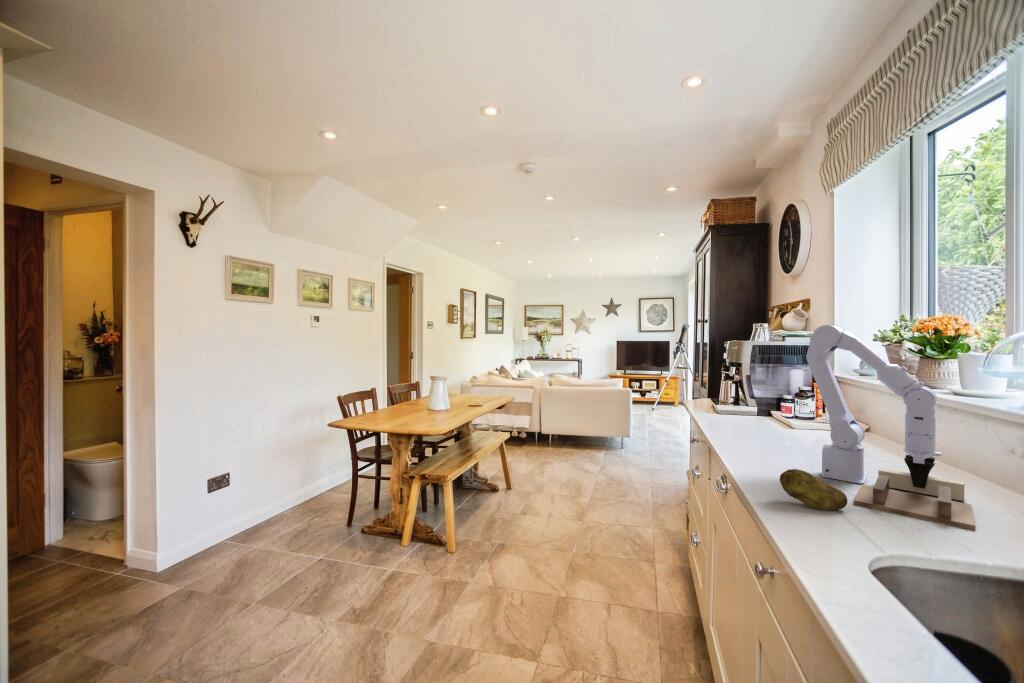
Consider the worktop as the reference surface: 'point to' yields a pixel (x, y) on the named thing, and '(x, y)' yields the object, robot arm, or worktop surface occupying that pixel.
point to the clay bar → (932, 486)
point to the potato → (812, 490)
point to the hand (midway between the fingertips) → (919, 485)
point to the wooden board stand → (916, 504)
